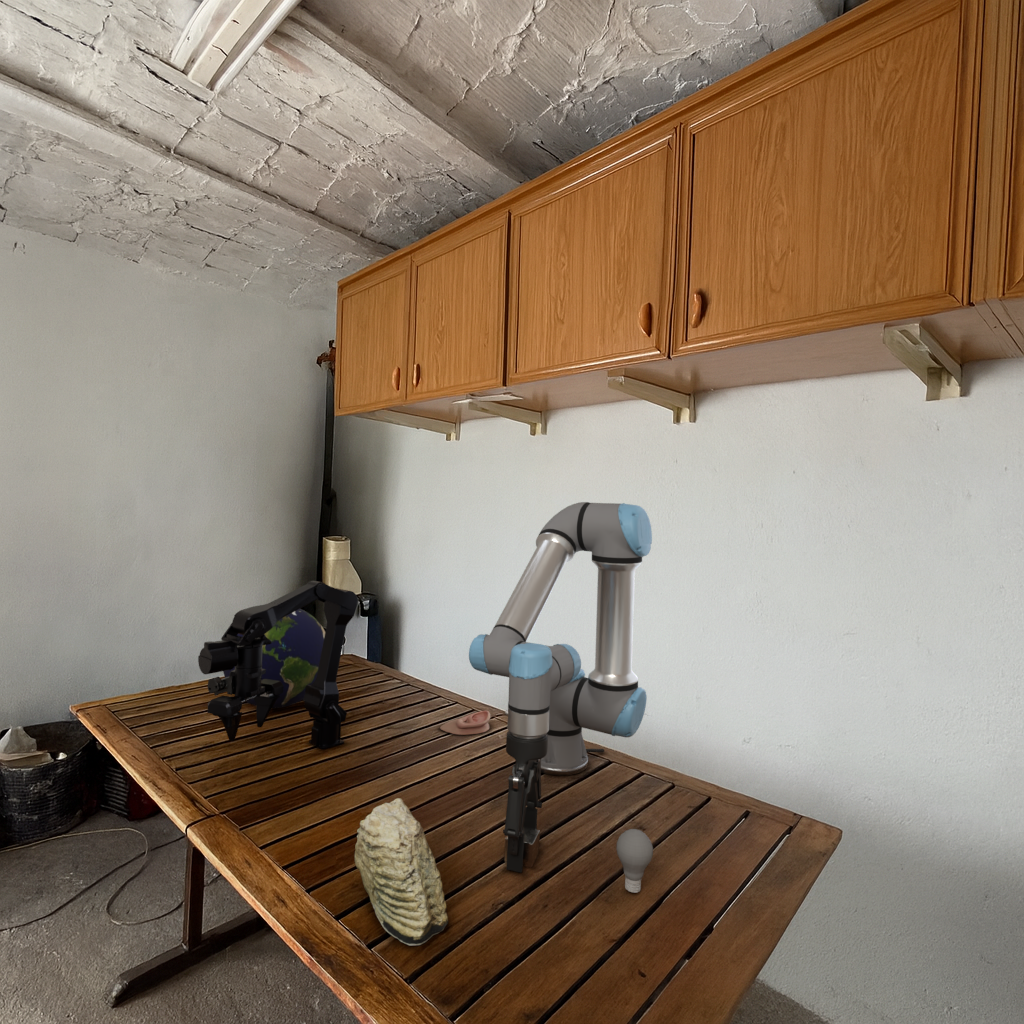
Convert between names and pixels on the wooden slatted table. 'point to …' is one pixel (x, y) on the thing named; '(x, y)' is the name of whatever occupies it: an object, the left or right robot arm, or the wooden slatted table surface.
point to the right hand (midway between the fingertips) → (521, 855)
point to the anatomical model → (468, 724)
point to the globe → (292, 655)
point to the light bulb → (634, 857)
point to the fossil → (400, 874)
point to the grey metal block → (528, 846)
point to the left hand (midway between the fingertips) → (246, 733)
